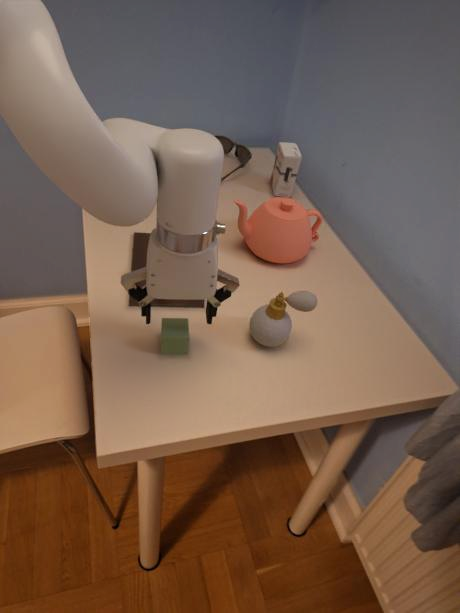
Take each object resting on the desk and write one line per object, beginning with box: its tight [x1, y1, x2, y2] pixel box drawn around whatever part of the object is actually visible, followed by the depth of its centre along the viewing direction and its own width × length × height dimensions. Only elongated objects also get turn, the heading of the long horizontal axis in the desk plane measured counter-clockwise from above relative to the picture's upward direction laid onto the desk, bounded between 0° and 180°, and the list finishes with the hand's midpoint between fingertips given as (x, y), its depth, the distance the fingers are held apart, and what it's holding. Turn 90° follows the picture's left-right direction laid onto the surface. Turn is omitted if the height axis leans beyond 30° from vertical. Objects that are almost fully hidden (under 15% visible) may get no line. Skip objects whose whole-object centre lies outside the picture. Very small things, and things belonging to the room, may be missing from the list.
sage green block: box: [160, 317, 190, 356], centre depth 68 cm, size 4×4×4 cm
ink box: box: [269, 141, 303, 198], centre depth 110 cm, size 8×5×12 cm, turn 4°
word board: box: [128, 231, 206, 308], centre depth 83 cm, size 14×22×1 cm, turn 7°
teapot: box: [233, 196, 323, 264], centre depth 90 cm, size 22×16×12 cm
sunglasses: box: [214, 135, 253, 183], centre depth 117 cm, size 16×17×5 cm
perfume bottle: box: [249, 290, 318, 347], centre depth 71 cm, size 8×10×12 cm
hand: (178, 317), depth 65 cm, fingers open, 9 cm apart
